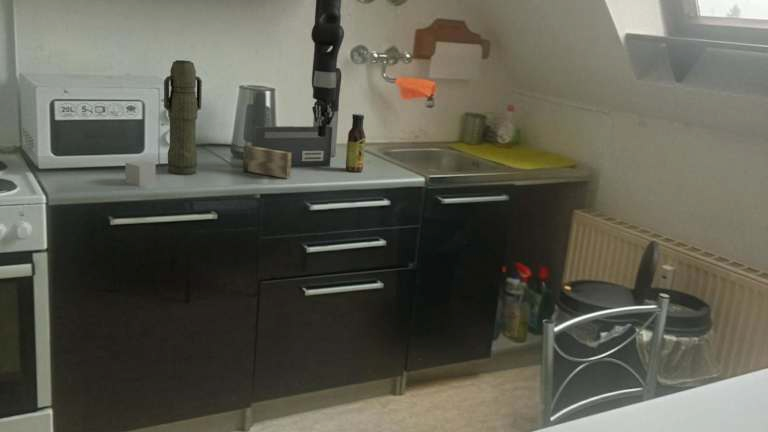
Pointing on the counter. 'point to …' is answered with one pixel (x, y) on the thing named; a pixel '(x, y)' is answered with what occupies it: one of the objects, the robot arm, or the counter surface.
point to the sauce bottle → (355, 145)
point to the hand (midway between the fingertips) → (321, 136)
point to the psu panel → (296, 143)
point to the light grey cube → (140, 173)
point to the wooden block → (267, 161)
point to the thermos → (182, 116)
